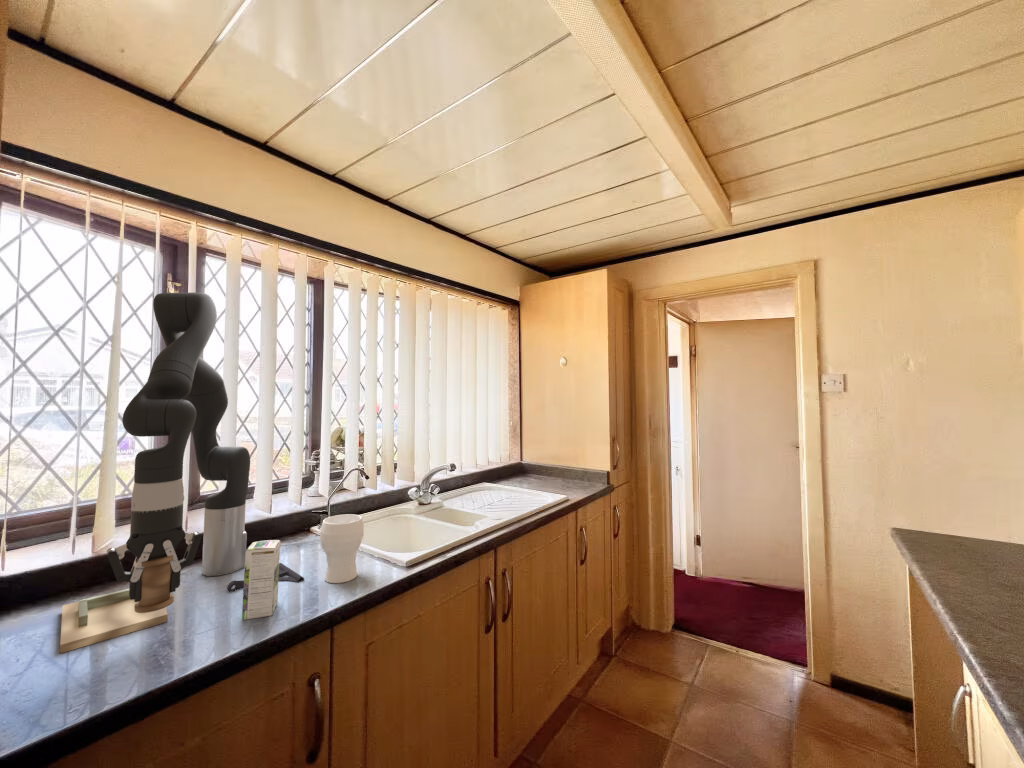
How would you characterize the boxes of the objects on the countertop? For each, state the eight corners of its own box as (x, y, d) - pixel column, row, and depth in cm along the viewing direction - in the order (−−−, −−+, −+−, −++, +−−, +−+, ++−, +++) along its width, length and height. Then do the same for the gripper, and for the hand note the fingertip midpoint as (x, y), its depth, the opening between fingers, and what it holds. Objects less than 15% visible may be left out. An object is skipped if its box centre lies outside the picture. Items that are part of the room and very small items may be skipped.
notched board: (153, 589, 99) (154, 575, 99) (167, 621, 85) (168, 604, 85) (62, 612, 88) (63, 596, 88) (59, 653, 74) (60, 633, 74)
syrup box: (248, 608, 91) (250, 541, 91) (278, 603, 93) (280, 538, 93) (241, 621, 85) (243, 550, 86) (273, 616, 87) (275, 546, 88)
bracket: (218, 585, 103) (219, 574, 103) (282, 567, 114) (282, 557, 114) (236, 604, 94) (237, 592, 94) (304, 583, 105) (304, 572, 105)
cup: (309, 582, 103) (310, 522, 104) (338, 567, 114) (340, 512, 114) (344, 588, 100) (345, 526, 101) (371, 571, 110) (372, 515, 111)
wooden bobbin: (171, 595, 81) (172, 549, 81) (176, 604, 77) (177, 556, 78) (132, 605, 77) (134, 556, 77) (136, 616, 73) (138, 565, 74)
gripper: (200, 494, 86) (197, 577, 85) (104, 507, 75) (100, 602, 74) (208, 500, 81) (205, 589, 80) (106, 515, 70) (102, 617, 69)
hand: (154, 595), depth 77 cm, fingers closed on wooden bobbin, 4 cm apart
